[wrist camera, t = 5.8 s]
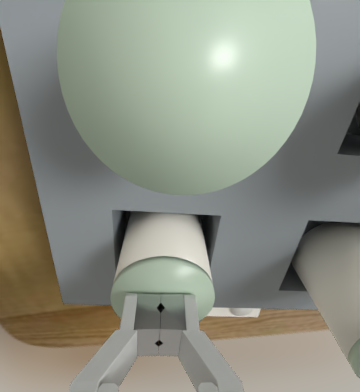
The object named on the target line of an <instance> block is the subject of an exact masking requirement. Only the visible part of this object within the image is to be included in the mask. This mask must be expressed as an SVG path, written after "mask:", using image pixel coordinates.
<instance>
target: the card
mask: <svg viewBox="0 0 360 392" xmlns="http://www.w3.org/2000/svg"><path fill="white" fill-rule="evenodd" d="M260 310H261V309H258V308H215V307H212V309H211V311H210V312H209V313H208V315H206V316H229V317H258V315H259V313H260Z"/></svg>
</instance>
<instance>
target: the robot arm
mask: <svg viewBox="0 0 360 392" xmlns="http://www.w3.org/2000/svg"><path fill="white" fill-rule="evenodd" d="M157 355H158V356H178V357H179V360H180V361H181V363H182V365H183V367H184V369H185V371H186V373H187V374H188V376H189V378H190V380H191V382H192V384H193V386H194V387H195V389H196V391H197V392H244V389H243V385H242V381H241V380H240V379H239V377H238V376H237V375H236V373H235V372H234V371H233V369H232V368H231V367H230V365H229V364H228V363H227V361H226V360H225V359H224V357H223V356H222V355H221V354H220V352H219V351H218V350H217V348H216V347H215V346H214V344H213V343H212V342H211V340H210V339H209V338H208V336H207V335H206V334H205V332H204V331H200V328H199V319H198V311H197V303H196V296H195V295H183V294H161V295H160V294H140V293H126V296H125V300H124V306H123V311H122V317H121V323H120V328H119V330H115V331H114V332H113V334H112V335H111V336H110V337H109V338H108V339H107V341H106V342H105V343H104V344H103V345H102V347H101V348H100V349H99V350H98V351H97V353H96V354H95V355H94V356H93V357H92V358H91V360H90V361H89V362H88V363H87V364H86V366H85V367H84V368H83V369H82V370H81V372H80V373H79V374H78V375H77V376H76V377H75V379H74V380H73V381H72V383H71V385H70V389H69V392H119V390H118V388H119V386H120V385H121V383H122V381H123V380H124V378H125V376H126V375H127V373H128V372H129V370H130V368H131V367H132V365H133V364H134V362H135V360H136V359H137V356H157Z"/></svg>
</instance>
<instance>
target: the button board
mask: <svg viewBox="0 0 360 392" xmlns="http://www.w3.org/2000/svg"><path fill="white" fill-rule="evenodd" d="M64 2H65V0H0V28H1V32H2V37H3V41H4V45H5V50H6V54H7V59H8V63H9V68H10V72H11V76H12V81H13V85H14V90H15V94H16V98H17V103H18V107H19V112H20V116H21V120H22V125H23V129H24V134H25V138H26V142H27V147H28V151H29V156H30V160H31V164H32V169H33V173H34V178H35V182H36V186H37V191H38V195H39V200H40V204H41V208H42V213H43V217H44V222H45V226H46V230H47V235H48V239H49V244H50V248H51V252H52V257H53V261H54V266H55V270H56V274H57V279H58V283H59V288H60V292H61V296H62V301H63V304H84V305H111V300H110V295H111V291H112V287H113V282H114V278H115V274H116V270H117V266H118V262H119V258H120V254H121V249H122V245H123V241H124V237H125V233H126V229H127V225H128V220H129V216H130V212H131V211H144V212H162V213H181V214H200V219H201V224H202V229H203V235H204V240H205V245H206V250H207V256H208V261H209V266H210V271H211V277H212V282H213V287H214V292H215V301H214V305H213V307H215V308H258V309H302V310H318V309H317V307H316V305H315V303H314V302H313V300H312V298H311V297H310V295H309V293H308V291H307V290H306V288H305V286H304V285H303V283H302V281H301V279H300V278H299V276H298V274H297V273H296V271H295V269H294V267H293V265H292V263H291V260H292V258H293V256H294V253H295V251H296V249H297V246H298V244H299V242H300V239H301V237H302V236H303V235H304V234H306V233H307V232H308V231H310V230H311V229H313V228H315V227H317V226H319V225H321V224H324V223H327V222H331V221H333V222H352V223H359V224H360V129H359V127H358V124H357V120H356V109H357V107H358V104H359V102H360V0H310V3H311V8H312V13H313V18H314V22H315V33H316V63H315V69H314V76H313V82H312V85H311V89H310V93H309V96H308V99H307V102H306V105H305V107H304V110H303V112H302V115H301V117H300V118H299V120H298V122H297V124H296V126H295V128H294V130H293V131H292V133H291V134H290V136H289V137H288V139H287V140H286V142H285V143H284V144H283V145H282V147H281V148H280V149H279V150H278V151H277V153H276V154H275V155H274V156H273V157H272V158H271V159H270V160H269V161H268V162H267V163H266V164H265V165H263V166H262V167H261V168H259V169H258V170H257V171H256V172H254V173H253V174H251V175H250V176H248V177H246V178H245V179H243V180H242V181H240V182H237V183H235V184H233V185H231V186H229V187H226V188H223V189H220V190H218V191H214V192H209V193H205V194H197V195H171V194H163V193H159V192H155V191H151V190H148V189H145V188H143V187H140V186H138V185H136V184H133V183H131V182H129V181H127V180H126V179H124V178H123V177H121V176H119V175H118V174H116V173H115V172H114V171H112V170H111V169H110V168H109V167H107V166H106V165H105V164H104V163H103V162H102V161H101V160H100V159H99V158H98V157H97V156H96V155H95V154H94V153H93V152H92V151H91V149H90V148H89V147H88V145H87V144H86V143H85V141H84V140H83V139H82V137H81V135H80V134H79V132H78V130H77V129H76V127H75V125H74V123H73V121H72V119H71V117H70V114H69V112H68V110H67V107H66V104H65V101H64V98H63V95H62V91H61V86H60V81H59V76H58V67H57V34H58V28H59V22H60V16H61V12H62V8H63V5H64Z"/></svg>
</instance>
